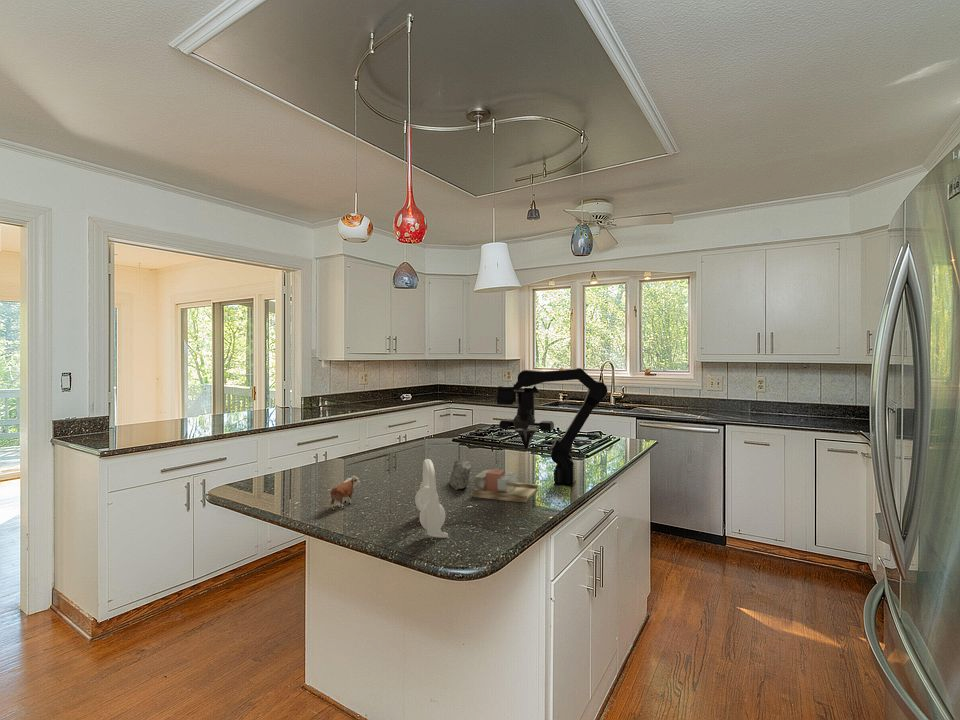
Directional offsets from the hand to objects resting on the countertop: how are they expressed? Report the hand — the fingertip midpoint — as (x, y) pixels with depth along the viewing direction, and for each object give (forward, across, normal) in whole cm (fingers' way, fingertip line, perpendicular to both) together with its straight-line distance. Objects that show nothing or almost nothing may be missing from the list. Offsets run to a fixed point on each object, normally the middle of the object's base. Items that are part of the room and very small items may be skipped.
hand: (526, 449), depth 178 cm
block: (+11, -6, -15) cm, 20 cm away
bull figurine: (+12, -46, -43) cm, 64 cm away
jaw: (+11, -3, -15) cm, 19 cm away
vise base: (+12, -3, -15) cm, 19 cm away
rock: (+12, -21, -11) cm, 27 cm away
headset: (+12, -13, -50) cm, 53 cm away
